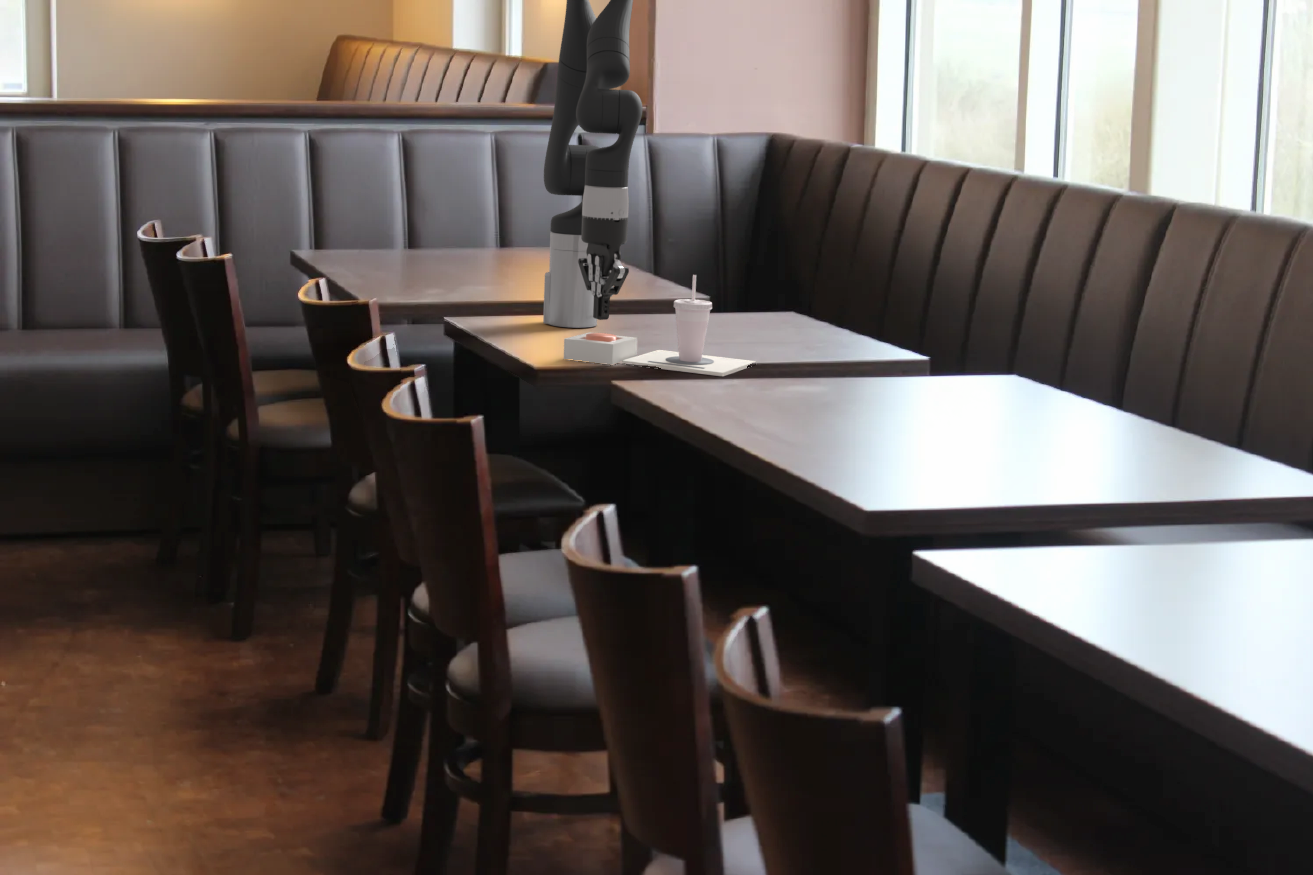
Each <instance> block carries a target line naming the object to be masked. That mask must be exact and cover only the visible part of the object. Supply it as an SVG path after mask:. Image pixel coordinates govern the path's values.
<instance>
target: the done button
mask: <svg viewBox="0 0 1313 875" xmlns="http://www.w3.org/2000/svg"><path fill="white" fill-rule="evenodd" d="M586 339H587V340H595V341H604V342H611V341H614V340H616V334H613V333H606V332H605V333H603V332H591V333H590V334H586Z"/></svg>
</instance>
